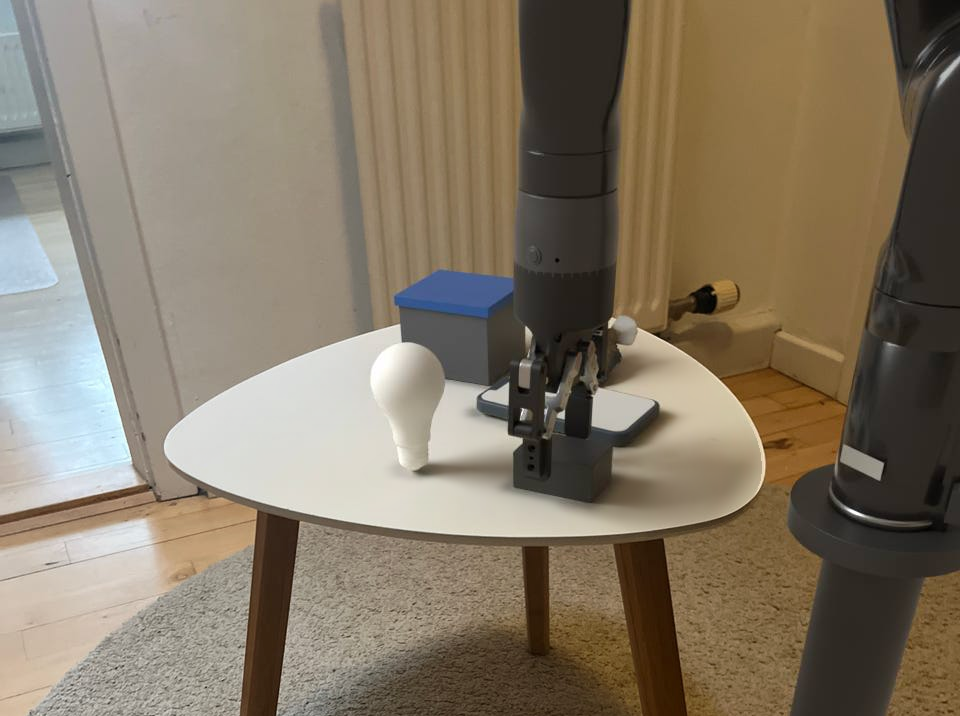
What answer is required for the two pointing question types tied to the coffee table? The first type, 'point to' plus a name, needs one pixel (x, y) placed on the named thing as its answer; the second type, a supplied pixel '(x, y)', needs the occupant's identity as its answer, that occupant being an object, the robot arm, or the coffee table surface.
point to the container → (463, 323)
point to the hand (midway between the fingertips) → (557, 456)
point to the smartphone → (611, 412)
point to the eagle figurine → (619, 340)
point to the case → (571, 469)
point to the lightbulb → (408, 397)
